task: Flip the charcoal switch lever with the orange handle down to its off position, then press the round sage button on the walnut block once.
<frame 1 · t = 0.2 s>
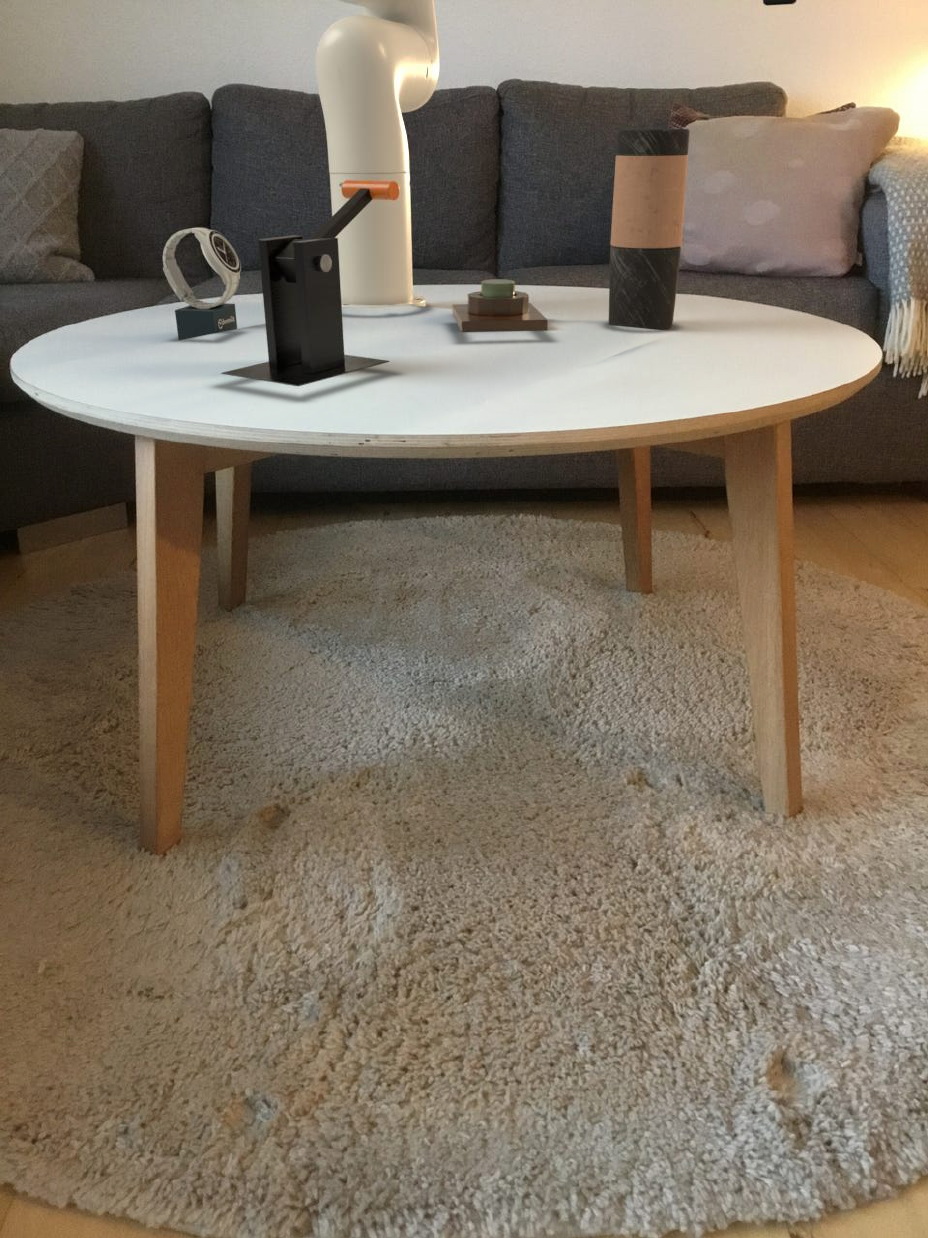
warm button: (498, 289, 109), point 4 cm above the table, slide at 0.1 cm
switch lever: (333, 226, 88), point 12 cm above the table, hinge at 28.0°
watch: (209, 338, 110), on the table
travel mug: (640, 328, 114), on the table
button block: (497, 332, 111), on the table
switch bracket: (308, 380, 90), on the table
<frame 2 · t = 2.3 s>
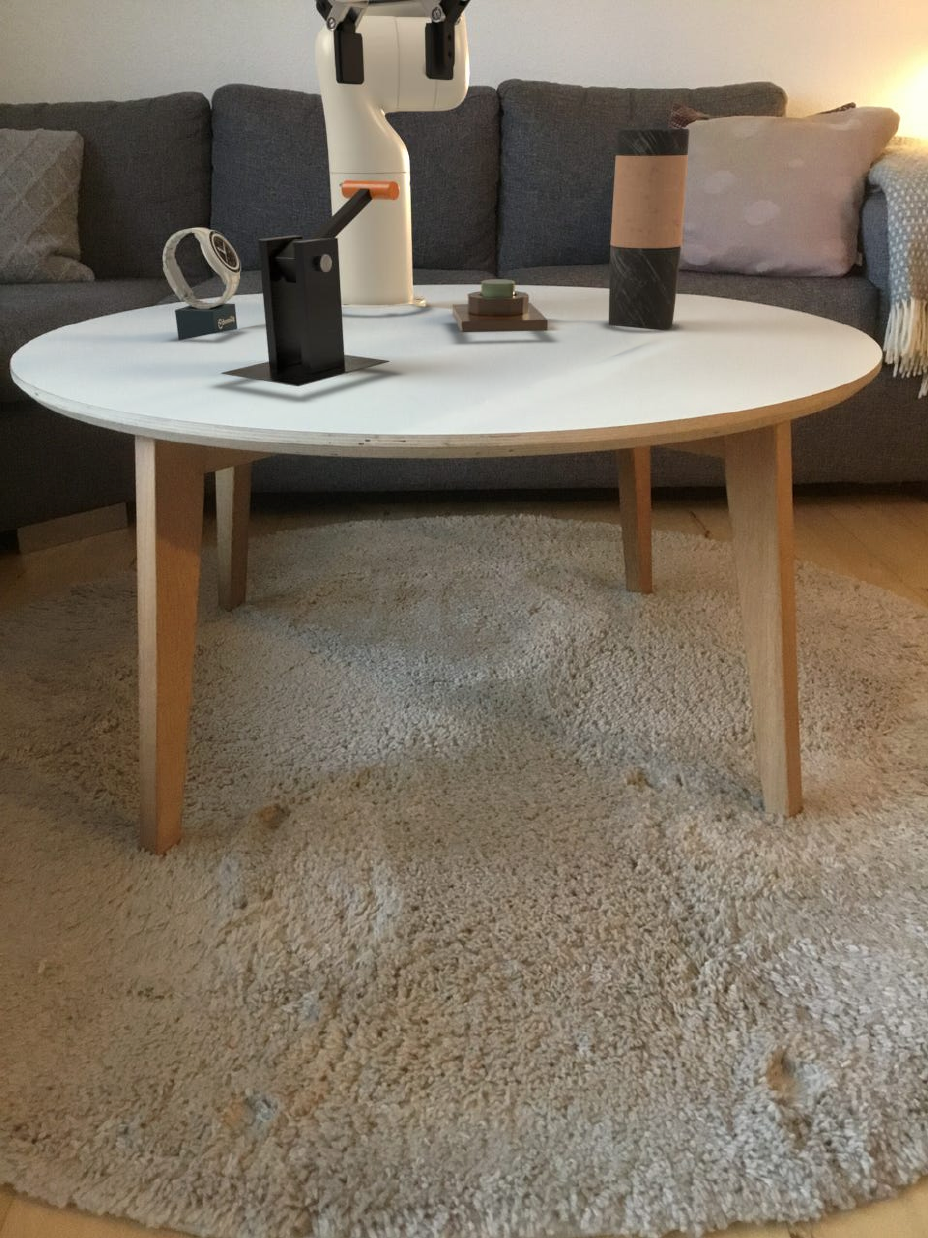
hand: (394, 81, 87), 24 cm above the table, tool pointing down, fingers open, 9 cm apart
nothing on the table moved.
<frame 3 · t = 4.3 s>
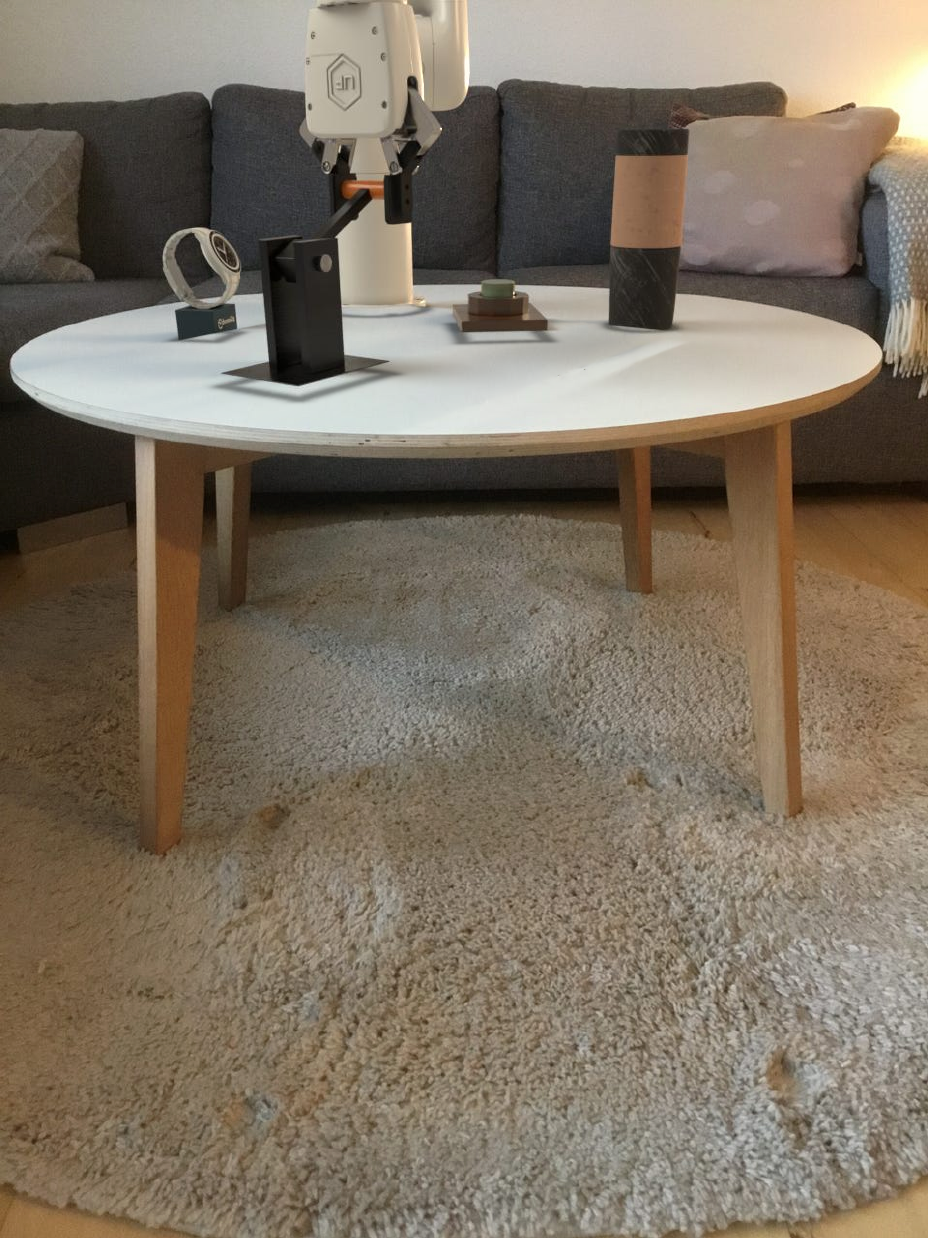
hand: (371, 219, 91), 13 cm above the table, tool pointing down, fingers closed on switch lever, 5 cm apart
switch lever: (333, 226, 88), point 12 cm above the table, hinge at 28.0°, touching gripper
everything else where it was.
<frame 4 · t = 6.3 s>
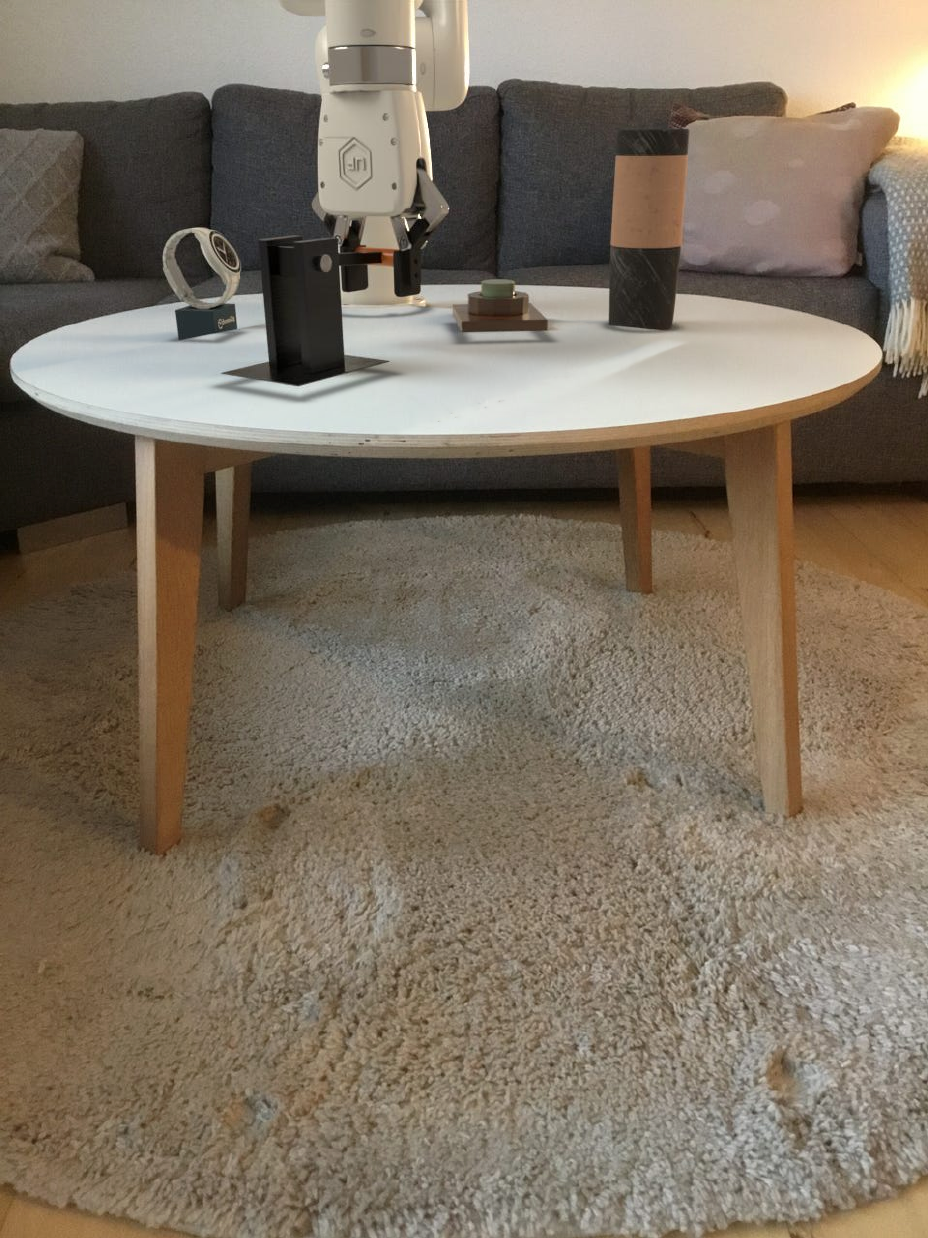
hand: (381, 290, 95), 6 cm above the table, tool pointing down, fingers closed on switch lever, 5 cm apart
switch lever: (340, 259, 89), point 10 cm above the table, hinge at -3.2°, touching gripper
everything else where it was.
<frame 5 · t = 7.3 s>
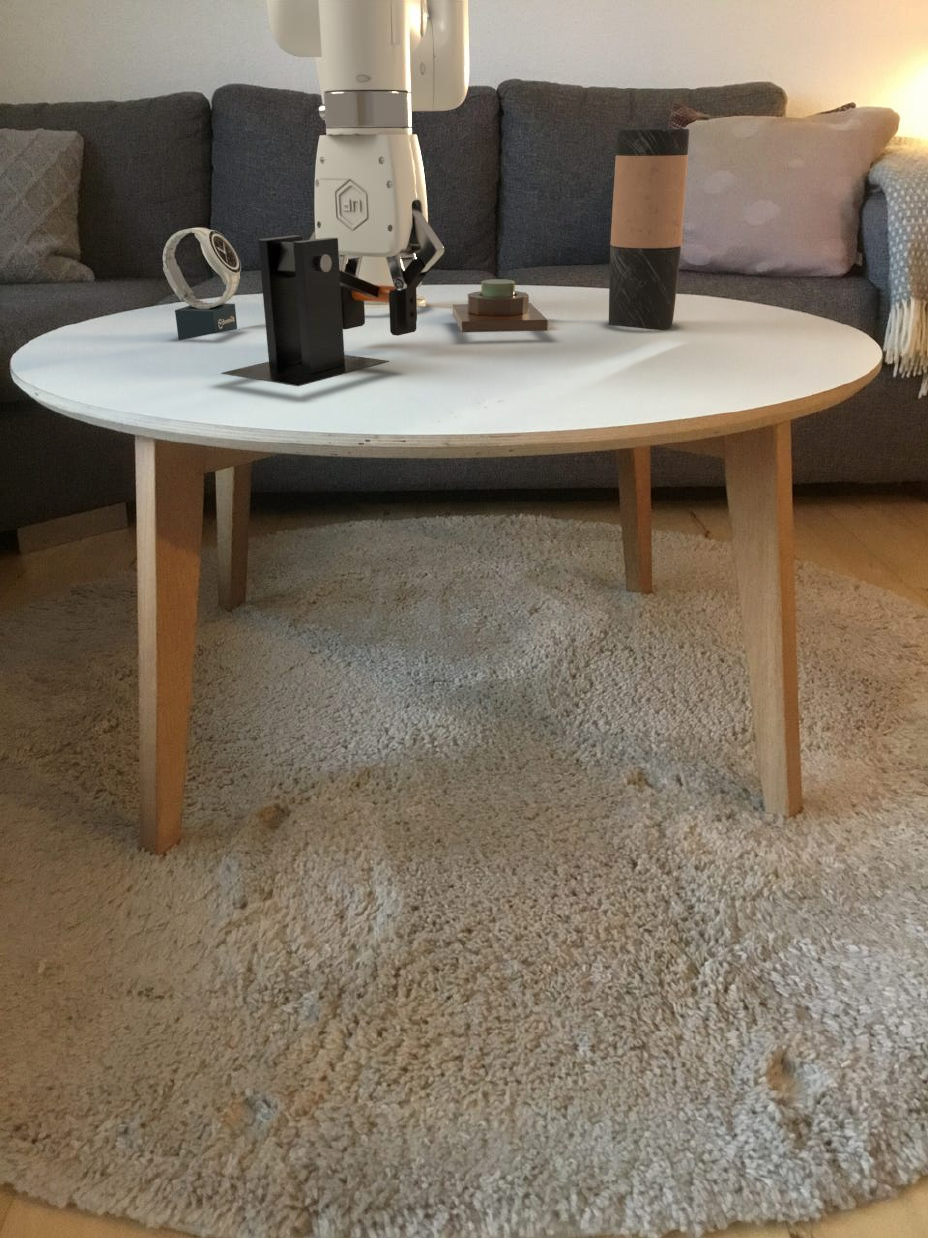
hand: (377, 328, 95), 3 cm above the table, tool pointing down, fingers closed on switch lever, 5 cm apart
switch lever: (339, 277, 90), point 8 cm above the table, hinge at -20.2°, touching gripper
everything else where it was.
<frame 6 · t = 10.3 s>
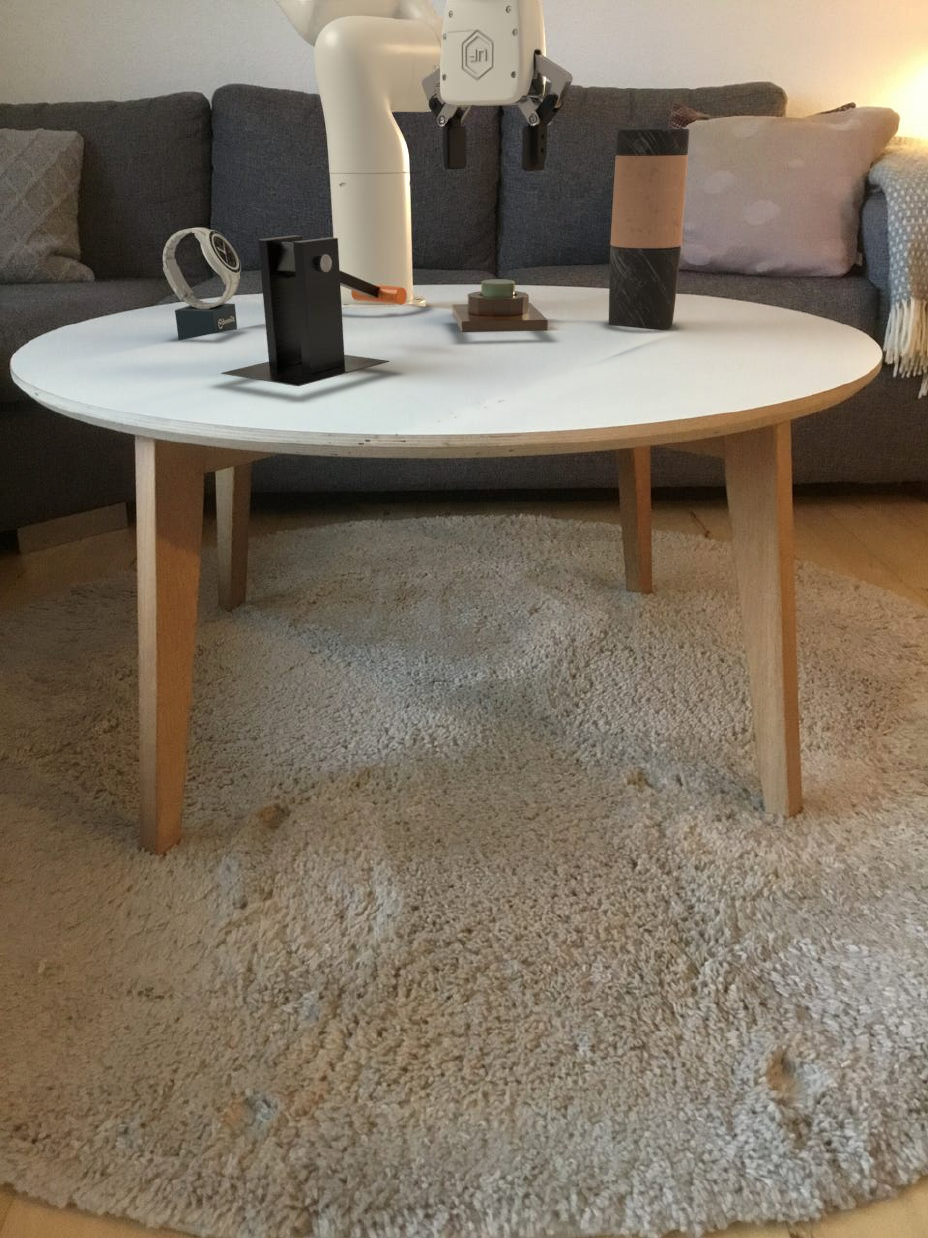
hand: (493, 169, 103), 16 cm above the table, tool pointing down, fingers open, 9 cm apart
switch lever: (339, 277, 90), point 8 cm above the table, hinge at -20.3°
everything else where it was.
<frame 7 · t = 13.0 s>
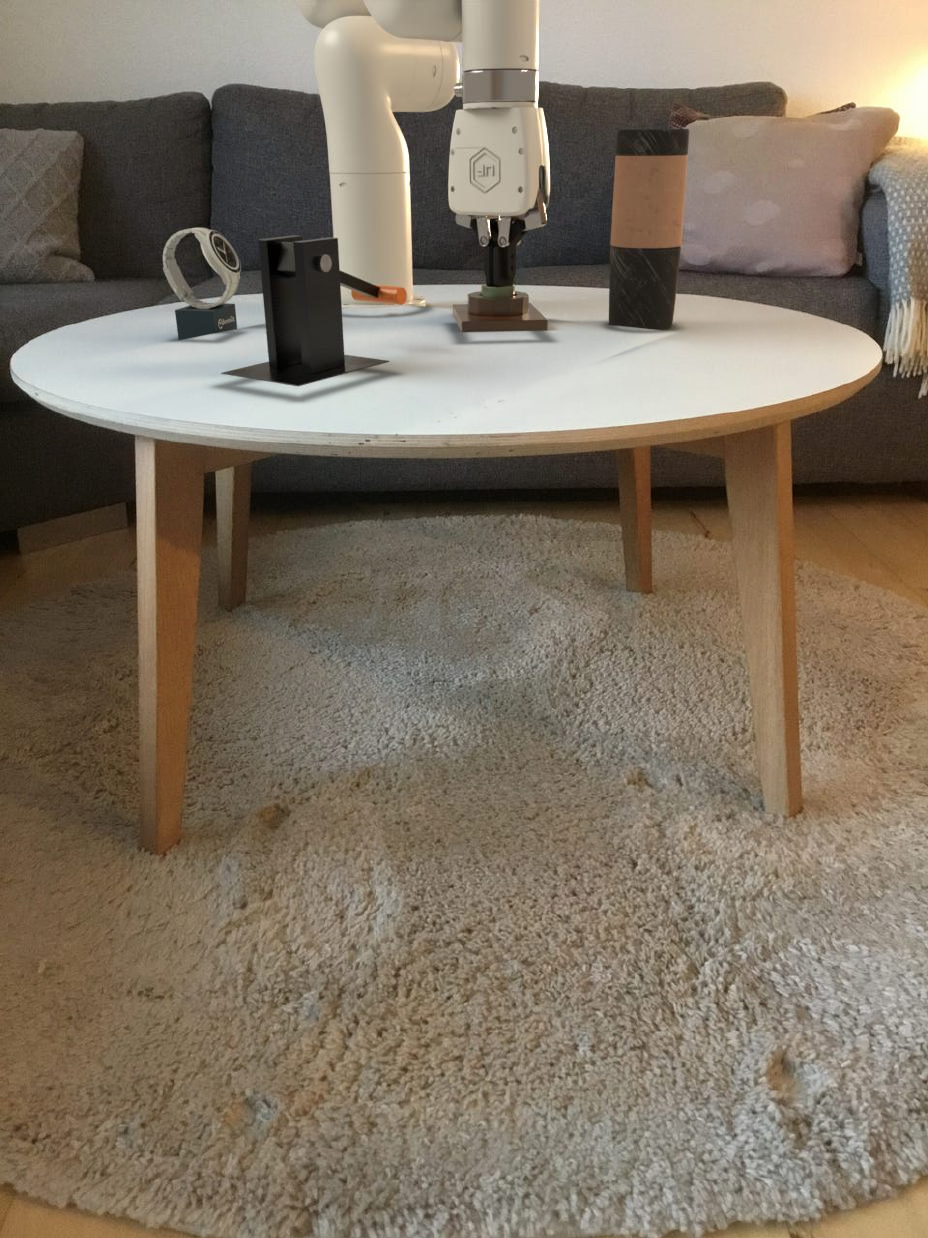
hand: (500, 284, 109), 5 cm above the table, tool pointing down, fingers closed
warm button: (498, 293, 109), point 4 cm above the table, slide at -0.3 cm, touching gripper
everything else where it was.
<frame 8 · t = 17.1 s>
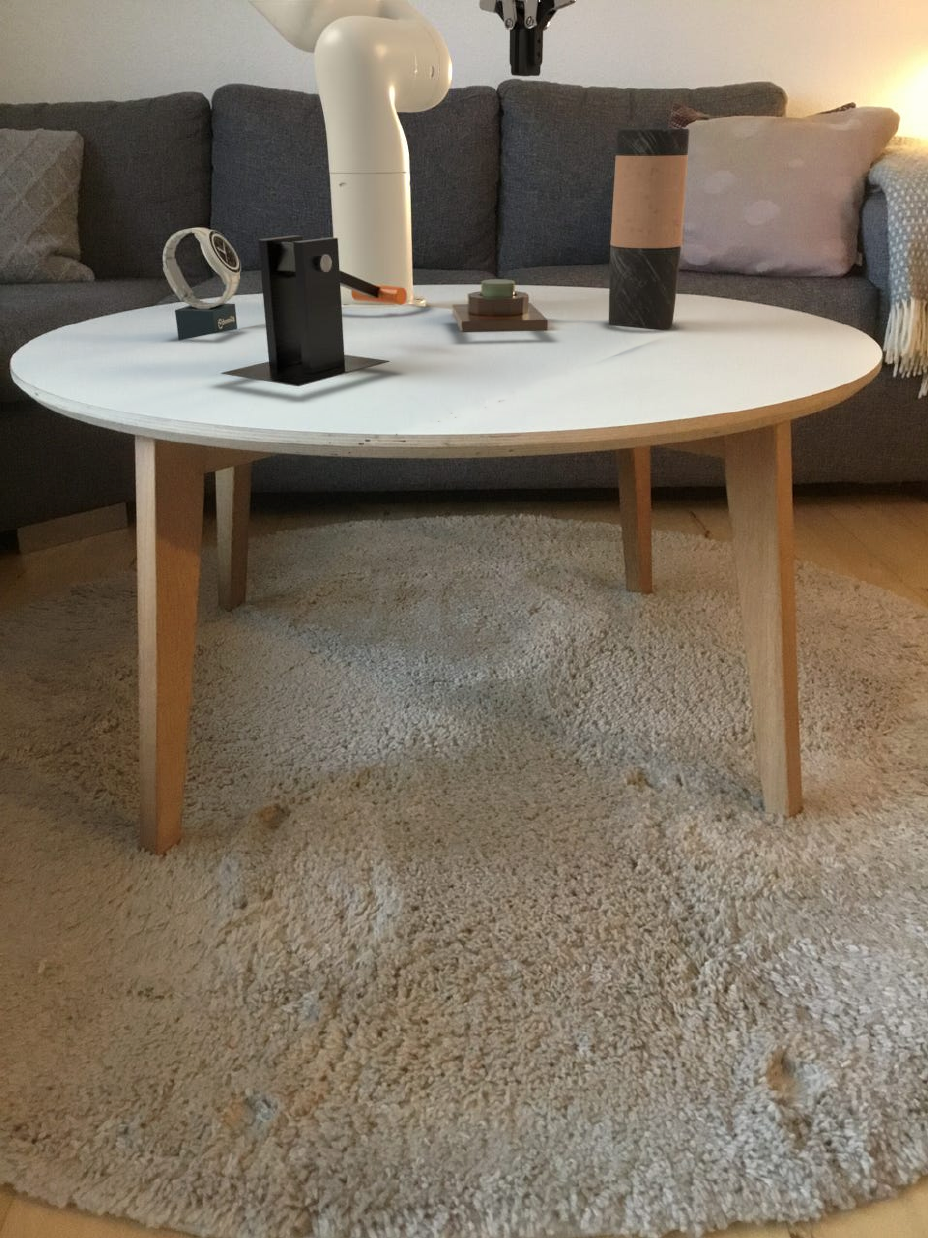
hand: (525, 74, 103), 25 cm above the table, tool pointing down, fingers closed
warm button: (498, 289, 109), point 4 cm above the table, slide at 0.1 cm
everything else where it was.
at the end: switch lever at -20° (first picture: +28°); warm button pushed in 1.1 cm at the most during the clip, back to where it started at the end; warm button slide at 0.1 cm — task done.
